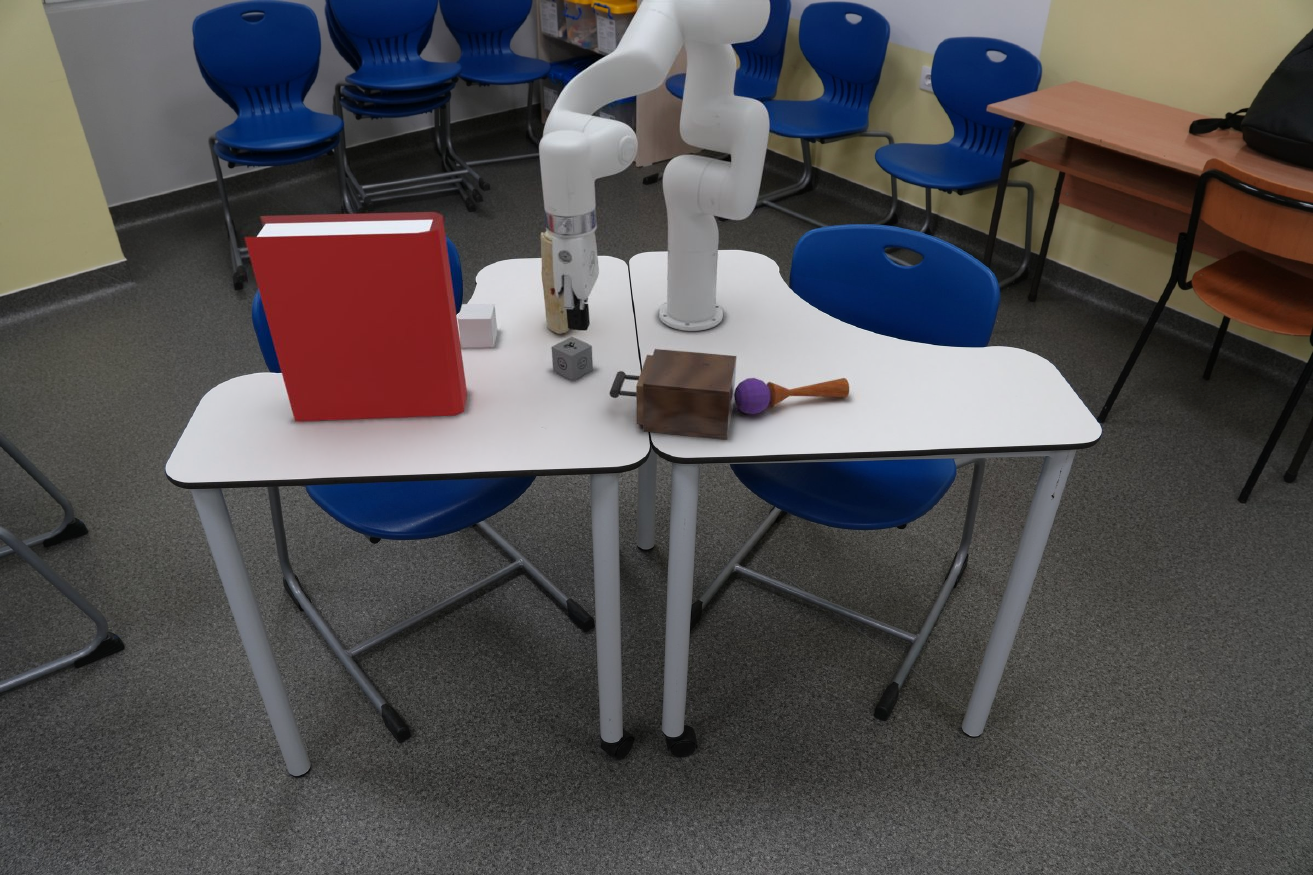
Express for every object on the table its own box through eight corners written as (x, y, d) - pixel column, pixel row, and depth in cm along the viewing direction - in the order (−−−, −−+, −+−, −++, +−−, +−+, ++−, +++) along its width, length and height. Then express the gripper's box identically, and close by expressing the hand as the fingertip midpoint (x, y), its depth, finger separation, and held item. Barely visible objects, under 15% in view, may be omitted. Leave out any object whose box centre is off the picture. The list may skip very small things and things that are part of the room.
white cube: (494, 347, 168) (490, 318, 165) (461, 348, 168) (457, 319, 165) (497, 331, 173) (494, 303, 170) (466, 332, 173) (462, 304, 170)
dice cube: (573, 360, 165) (571, 336, 162) (592, 370, 162) (591, 345, 159) (553, 371, 162) (551, 346, 159) (572, 381, 159) (571, 356, 156)
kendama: (856, 386, 150) (745, 396, 145) (846, 412, 154) (737, 423, 149) (842, 363, 154) (733, 372, 149) (833, 389, 158) (726, 398, 153)
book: (295, 421, 148) (244, 237, 130) (306, 395, 155) (260, 216, 136) (463, 415, 150) (437, 232, 131) (467, 389, 156) (443, 211, 138)
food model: (577, 338, 171) (572, 238, 160) (542, 337, 171) (534, 238, 160) (582, 314, 179) (577, 217, 168) (548, 313, 179) (541, 217, 168)
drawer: (607, 421, 147) (606, 383, 143) (619, 389, 155) (618, 352, 151) (713, 431, 145) (715, 393, 141) (720, 398, 153) (722, 361, 149)
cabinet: (643, 431, 146) (642, 383, 141) (654, 395, 155) (654, 348, 150) (727, 439, 144) (729, 391, 139) (733, 402, 153) (736, 355, 148)
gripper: (584, 241, 127) (591, 353, 138) (606, 200, 139) (611, 306, 150) (532, 238, 128) (543, 350, 139) (558, 198, 140) (567, 303, 151)
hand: (578, 327), depth 144 cm, fingers closed
